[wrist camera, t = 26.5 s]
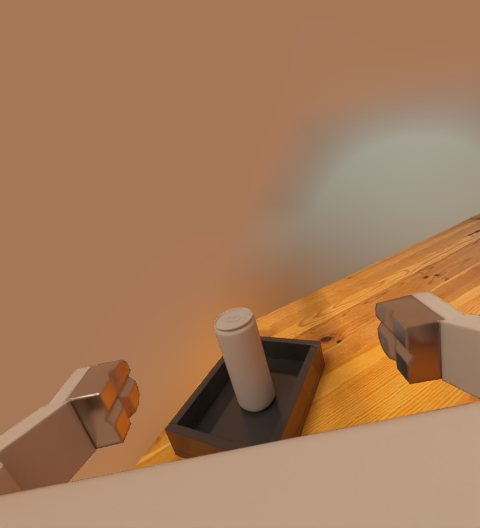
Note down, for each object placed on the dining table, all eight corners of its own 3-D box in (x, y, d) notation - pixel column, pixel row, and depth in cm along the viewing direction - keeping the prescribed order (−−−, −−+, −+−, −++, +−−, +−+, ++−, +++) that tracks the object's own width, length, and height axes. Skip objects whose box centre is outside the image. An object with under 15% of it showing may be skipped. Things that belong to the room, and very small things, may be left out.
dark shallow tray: (279, 494, 27) (270, 464, 26) (175, 455, 34) (164, 429, 33) (325, 364, 42) (320, 340, 40) (245, 354, 48) (239, 334, 47)
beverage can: (272, 415, 34) (248, 328, 31) (234, 414, 36) (206, 331, 32) (278, 385, 39) (257, 305, 35) (244, 385, 40) (220, 308, 37)
